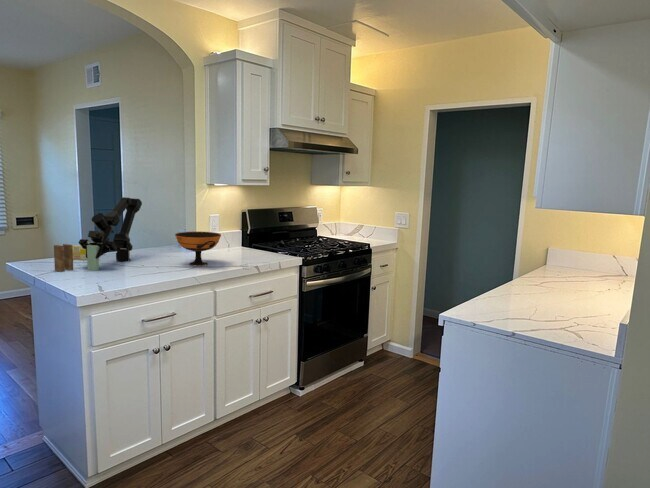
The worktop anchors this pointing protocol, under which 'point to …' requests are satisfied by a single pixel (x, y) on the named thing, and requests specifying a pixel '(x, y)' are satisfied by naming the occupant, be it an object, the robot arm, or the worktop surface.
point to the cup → (198, 243)
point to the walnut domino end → (59, 258)
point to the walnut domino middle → (68, 256)
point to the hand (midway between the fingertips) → (91, 257)
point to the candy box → (79, 253)
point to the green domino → (92, 257)
